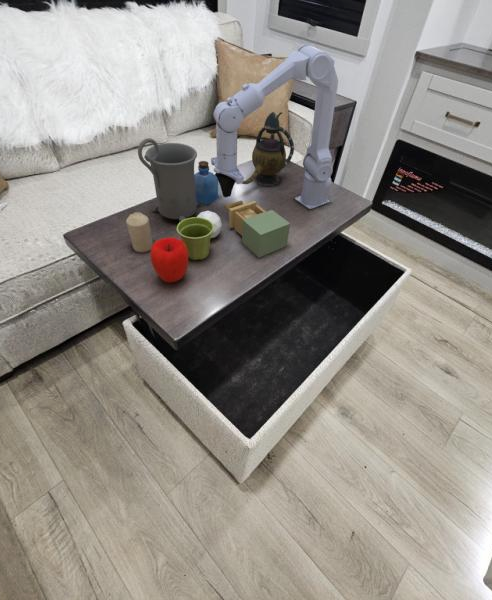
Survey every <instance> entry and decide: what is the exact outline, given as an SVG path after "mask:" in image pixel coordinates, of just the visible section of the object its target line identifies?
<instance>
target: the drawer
mask: <svg viewBox="0 0 492 600" xmlns="http://www.w3.org/2000/svg"><path fill="white" fill-rule="evenodd" d="M224 209H225V210H226V211H228V227H229V228H230V229H233V228H234V230H235V231H236V232H237V233H238V234H239V235H240V236H242V229H243V220H244V219H245V218H244V217H243V216H242V215H241V214H239V212H241V211H244V210H247V209H251V210H253V211H254V212H255V213H256V214H257V215H258V214H261V213H264V212H267V211H266V210H265V209H264V208H262V207H261V206H260V205H259V204H257V201H255V200H252V201H248V202H245V203H244V201H243V200H242V199H241V200H238V201H234V202H231V203H229V204H226V205H224ZM254 216H256V215H254ZM251 217H253V216H251ZM249 218H250V217H249ZM246 219H247V218H246Z"/></svg>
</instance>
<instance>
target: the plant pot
mask: <svg viewBox="0 0 492 600" xmlns="http://www.w3.org/2000/svg"><path fill="white" fill-rule="evenodd" d="M213 230H214V226H213V224H212V222H211V221H209V220H207V219H205V218H200V217H197V216H194V217H193V216H191V217H188V218H185V219H184V220H182V221H181V222H180V221H179V223H177V226H176V232H177V234H178V235H179V236H180V238H181V241H183V242H184V243H185V245H186V248H187V251H188V259H190V260H192V261H198V260H204V259H206V258H207V257H208V256H209V254H210V246H211V239H212V238H211V234H212V232H213Z"/></svg>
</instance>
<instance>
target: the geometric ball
mask: <svg viewBox="0 0 492 600" xmlns="http://www.w3.org/2000/svg"><path fill="white" fill-rule="evenodd" d="M196 217H200V218H205V219H207V220H209V221H211V222H212V224H213V226H214V230H213V232H212V234H211V238H210V239H213V238H216V237H218V235H219V234H220V233H221V230H222V227H223V223H222V219H221V217H220V216H219V215H218V214H217V213H216V212H213V211H211V210H204V211H201V212H199V213H198V215H196Z"/></svg>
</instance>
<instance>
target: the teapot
mask: <svg viewBox="0 0 492 600" xmlns="http://www.w3.org/2000/svg"><path fill="white" fill-rule="evenodd" d="M282 114H284V112H282V111H281V112H279V113H278V114H276V113H275V111H272V112H270V113H269V114H268V116H267V117H266V118H265V121H264V124H263V127H262V128H261V129H260V130H259V131H258V133H257V136H256V139H255V145H254V147H253V150H252V153H251V159H252V160H251V161H252V165H253V166H254V169H255V170H254V172H253V174H251V176H250V177H248V178H247V179H246V180H244V183H241V184H240V185H249V184H251V183H253V182H254V181H255V183H257V184H258V185H260V186H261V185H262V186H266V187H273V186H276V185H278V184H279V182H280V178H279V177H278V176H277V174H278V173H280V172H281V171H282V170H283V169H285V167H286V166H287V165H289V163H290V162H291V160H292V158H293V156H294V153H295V144H294V140H293V138H292V136H291V134H290V133H289V132H288V131H287V129H285V128H283V126H280V120H279V117H280V116H281V115H282ZM264 132H266V133H267V134H268V135H269V134H270V138H265V139H262V136H263V133H264ZM275 134H277V137H278V140H279V141H278V140H276V139H275ZM282 134H283V135H284V136H285V137H286V139H287V141H288V143H289V149H290V150H289V154H288V155H287V151H286V148H285V143H284V141H285V140H284V138H283V135H282Z"/></svg>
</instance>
